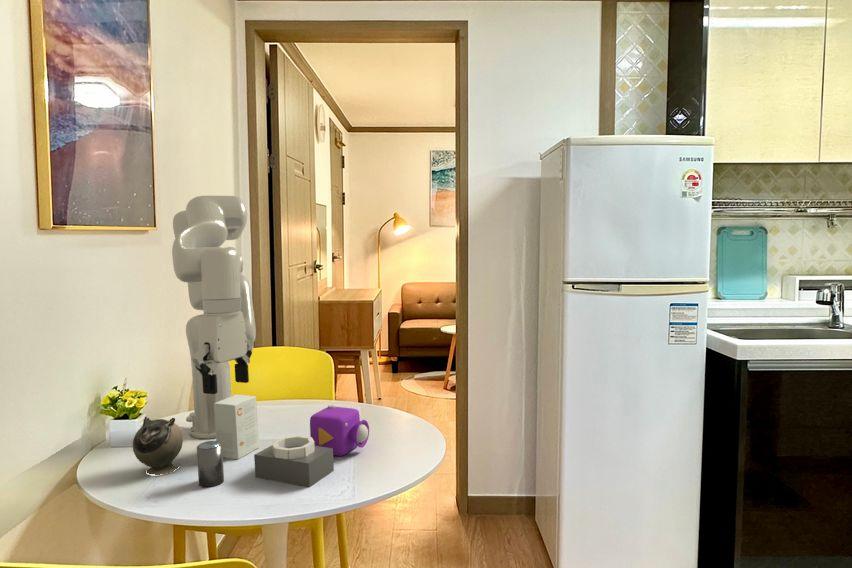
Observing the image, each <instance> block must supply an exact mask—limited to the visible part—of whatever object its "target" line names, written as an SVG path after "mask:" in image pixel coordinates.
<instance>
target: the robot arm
mask: <svg viewBox="0 0 852 568" xmlns="http://www.w3.org/2000/svg"><path fill="white" fill-rule="evenodd" d="M247 221H248V211H247V207H246V204H245V202H244V200H242V199H241V198H240V197H239V196H235V195H199V196H195V197H192V199H190V200H189V201H188V202H187V204H186V208H185V210H181V211H179V212H177V213H176V214H174V215H173V218H172V229H173V235H174V241H173V244H172V247H171V255H172V256H171V257H172V265H173V271H174V274H175V277H176V278H177V279H178V280H179V281H181V282H183V283H187V288H188V289H187V290H188V292H187V293H188V297H189V299H188V300H189V303H190V305H191V307H192V308H193V309H194V310H197V311H203V314H197V315H195V316H192V317H191V318H190V319H189V320H188V321H187V322H186V325H185V335H186V340H187V344H188V351H189V356H190V364H191V365H190V366H191V378H192V379H191V380H192V393H193V394H192V395H193V408H194V409H193V410H194V412H189V415H188V416H186V418H185V421H186V422H187V423H188V422H189V423H192V425H191V426H192V427H190V428H189V429H188V433H189V436H190V437H191V438H195V439H216V429H215V414H214V403H216V402H219V401H221V400H224V399H226V398H229V397H231V396H232V382H231V367H230V366H231V365H230V363H229V362H230V361H235V362H236V363H235V364H234V378H235V380H234V381H235V382H236V383H241V384H242V383H243V384H248V383H249V382H250V375H249V364H250V362H251V359H250V358H251V356H253V355H252V354H253V348H254V345H255V344H254V343H255V341H256V337H257V330H256V328H257V327H256V319H255V312H254V303H253V296H252V289H251V284H250V281H249V279H248V278H247V277H246V276H245V275H243V274H241V273H243V271H244V259H243V258H244V257H243V255H242V254H241V253H240V251H239V250H238V249H237V248H235V247H232V246H223V244H224V243H225V242H226V241H235V240H238V239H239V238H240V237H241V236H242V234H243V231H244V230H245V228H246V224H247Z"/></svg>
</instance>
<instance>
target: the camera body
mask: <svg viewBox="0 0 852 568" xmlns="http://www.w3.org/2000/svg"><path fill="white" fill-rule="evenodd" d="M253 458H254V477H255V478H257V479H262V480H269V481H274V482H278V483H279V482H280V483H286V484H291V485H296V486H303V487H307V488H310V487H312V486H314V485H315V484H316V483H318V482H319V481H321V480H322V479H324V478H325V477H327V476H328V475H329V474H331V473H332V472H334V470H335V469H334V455H333V448H327V447H320V446H315V442H314V440H313V438H312V437H310V436H306V435H291V436H284V437H281V438H279V439H277V440H275V441H273V443H272V445H270V446H268V447H266V448H264V449H262V450H260V451H258V452H256V453H255V454H254V455H253Z"/></svg>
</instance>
